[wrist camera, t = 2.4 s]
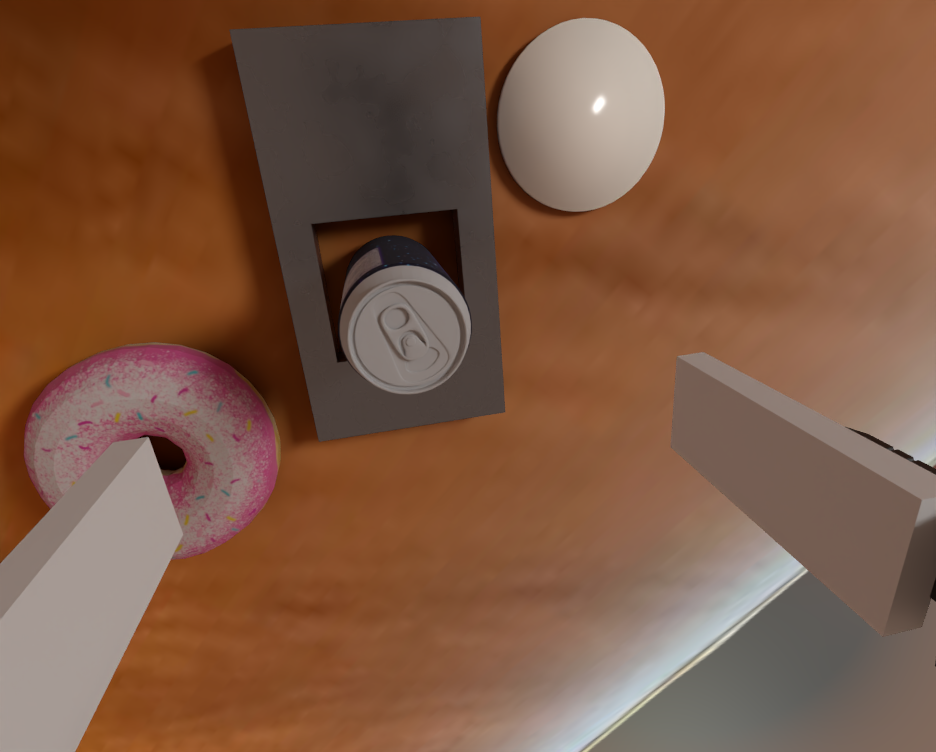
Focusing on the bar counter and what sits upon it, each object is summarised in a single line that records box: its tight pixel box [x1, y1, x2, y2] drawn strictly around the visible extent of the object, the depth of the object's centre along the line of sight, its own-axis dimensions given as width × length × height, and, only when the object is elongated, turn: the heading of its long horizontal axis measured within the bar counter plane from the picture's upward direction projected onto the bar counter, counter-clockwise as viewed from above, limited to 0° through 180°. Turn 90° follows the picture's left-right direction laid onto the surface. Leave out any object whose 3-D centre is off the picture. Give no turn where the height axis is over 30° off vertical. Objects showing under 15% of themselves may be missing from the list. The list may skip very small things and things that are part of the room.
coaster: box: [497, 18, 665, 212], centre depth 30 cm, size 10×10×1 cm
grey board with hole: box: [230, 17, 505, 442], centre depth 30 cm, size 22×12×2 cm, turn 5°
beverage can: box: [338, 236, 472, 394], centre depth 27 cm, size 6×6×12 cm
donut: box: [24, 342, 281, 560], centre depth 31 cm, size 14×13×5 cm
